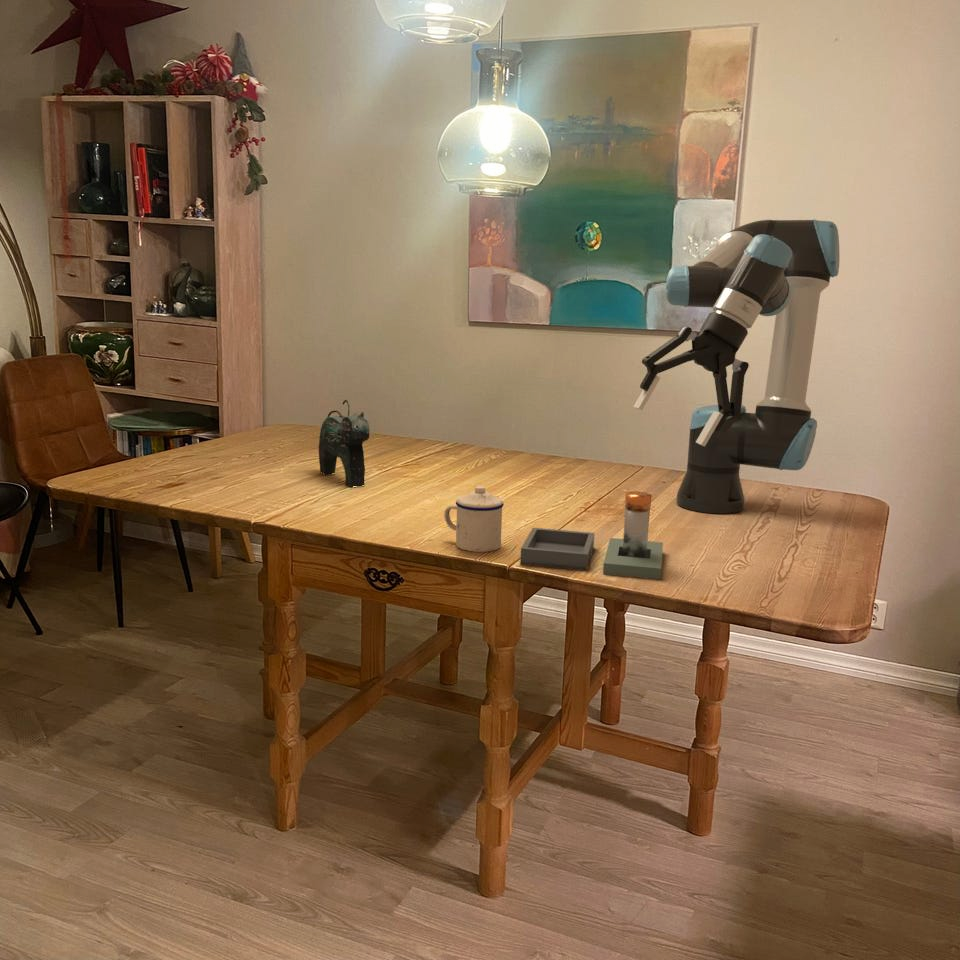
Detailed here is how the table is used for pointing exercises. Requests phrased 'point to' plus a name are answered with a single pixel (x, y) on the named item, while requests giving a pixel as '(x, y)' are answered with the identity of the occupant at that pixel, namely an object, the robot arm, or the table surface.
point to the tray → (557, 548)
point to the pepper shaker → (636, 524)
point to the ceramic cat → (344, 445)
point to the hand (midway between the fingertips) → (669, 426)
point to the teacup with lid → (477, 521)
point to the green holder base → (633, 561)
